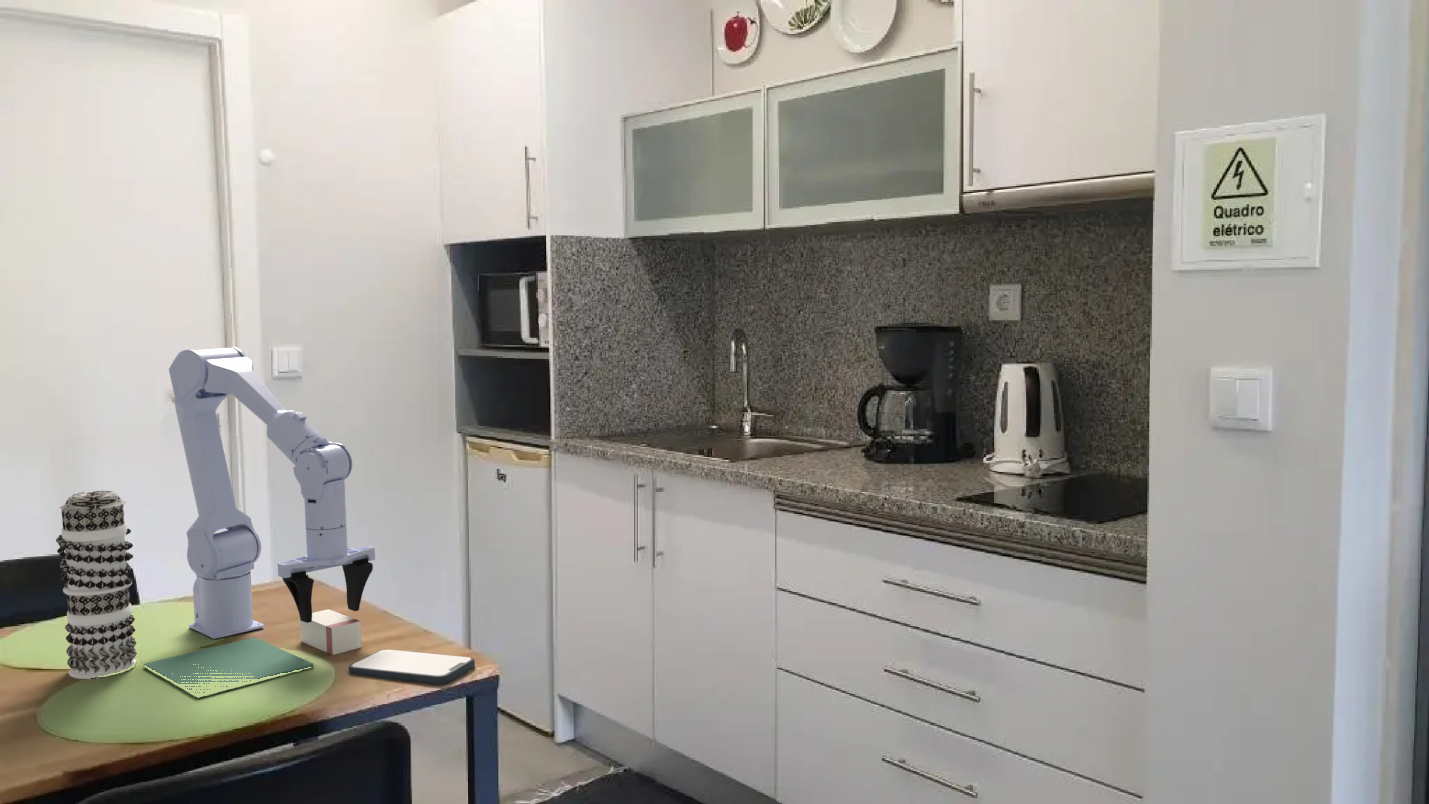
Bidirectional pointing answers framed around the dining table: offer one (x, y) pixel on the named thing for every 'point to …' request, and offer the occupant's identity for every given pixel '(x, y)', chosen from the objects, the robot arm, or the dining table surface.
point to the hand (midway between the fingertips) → (330, 615)
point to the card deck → (331, 632)
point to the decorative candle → (96, 584)
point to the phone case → (413, 666)
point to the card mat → (229, 662)
